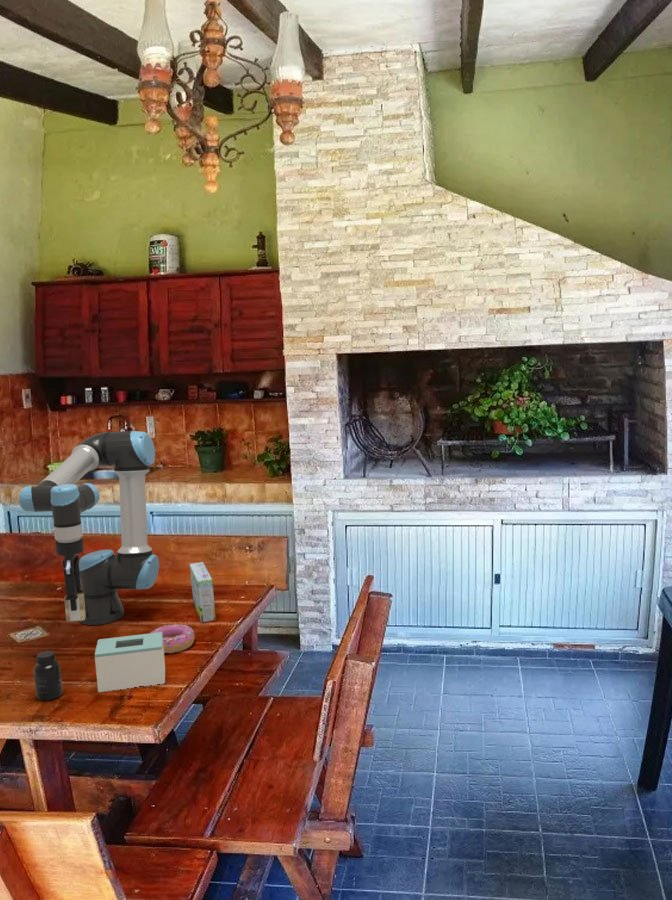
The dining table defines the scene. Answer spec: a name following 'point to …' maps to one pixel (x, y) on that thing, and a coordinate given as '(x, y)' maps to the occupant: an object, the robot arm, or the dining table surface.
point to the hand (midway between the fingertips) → (76, 617)
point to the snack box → (202, 592)
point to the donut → (176, 637)
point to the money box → (130, 662)
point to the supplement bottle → (47, 676)
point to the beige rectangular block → (81, 605)
